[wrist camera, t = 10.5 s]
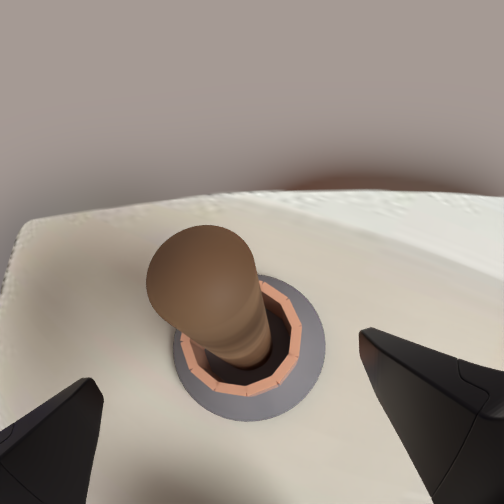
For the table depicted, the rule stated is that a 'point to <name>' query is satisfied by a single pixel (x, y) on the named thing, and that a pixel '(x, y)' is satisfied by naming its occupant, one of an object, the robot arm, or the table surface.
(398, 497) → the table surface
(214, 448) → the table surface
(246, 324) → the walnut rail post
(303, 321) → the ring
